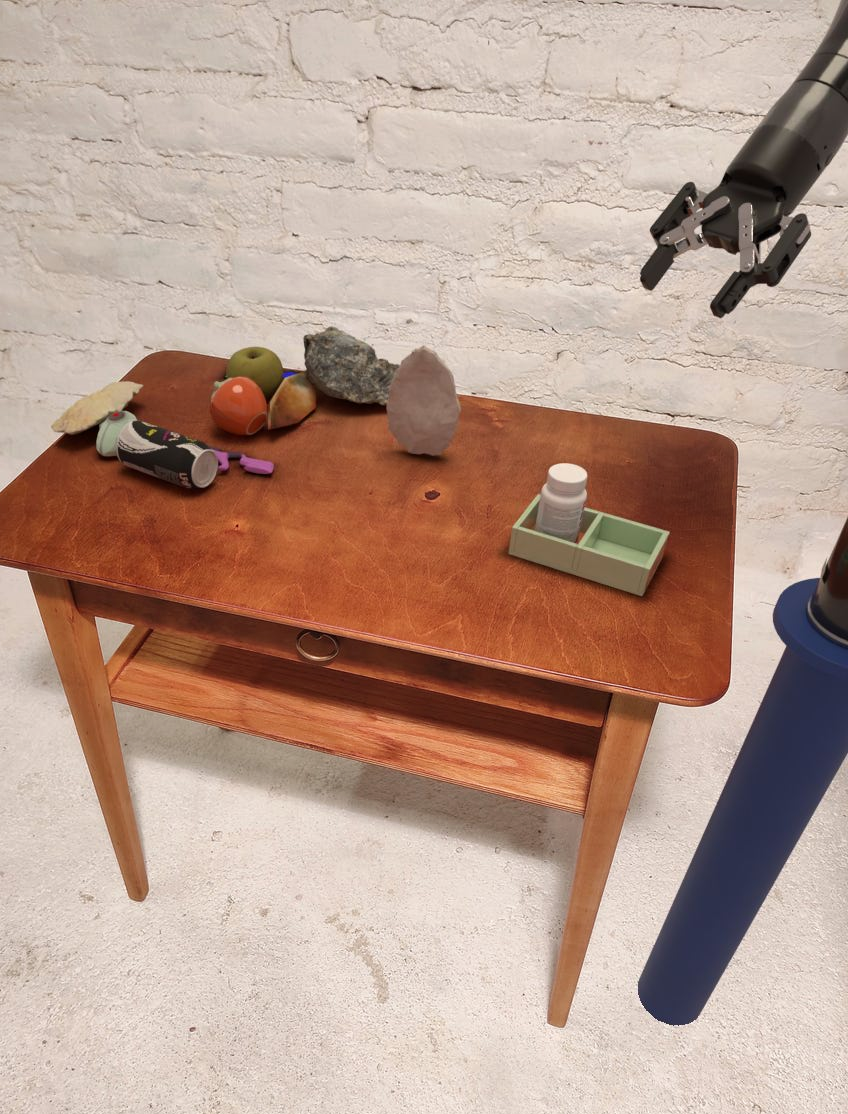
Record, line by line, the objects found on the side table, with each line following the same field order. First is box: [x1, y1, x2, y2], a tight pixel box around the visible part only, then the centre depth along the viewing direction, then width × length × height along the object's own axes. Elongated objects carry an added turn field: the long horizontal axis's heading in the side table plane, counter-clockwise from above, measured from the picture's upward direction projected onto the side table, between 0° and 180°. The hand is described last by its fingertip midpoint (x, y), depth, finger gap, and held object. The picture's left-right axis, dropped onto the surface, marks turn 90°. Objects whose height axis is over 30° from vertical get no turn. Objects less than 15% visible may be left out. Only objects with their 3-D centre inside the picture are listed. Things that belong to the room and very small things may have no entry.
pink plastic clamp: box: [208, 445, 275, 475], centre depth 109 cm, size 21×1×5 cm
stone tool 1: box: [50, 380, 144, 436], centre depth 114 cm, size 8×4×15 cm
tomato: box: [209, 376, 268, 436], centre depth 113 cm, size 7×7×8 cm
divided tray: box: [507, 493, 671, 597], centre depth 94 cm, size 15×8×4 cm, turn 61°
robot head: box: [95, 410, 138, 457], centre depth 109 cm, size 8×4×7 cm
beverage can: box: [116, 419, 219, 490], centre depth 104 cm, size 6×6×12 cm
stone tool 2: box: [386, 344, 462, 457], centre depth 105 cm, size 9×3×15 cm, turn 80°
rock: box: [302, 326, 400, 406], centre depth 119 cm, size 14×10×10 cm
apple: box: [225, 346, 284, 405], centre depth 118 cm, size 8×8×7 cm
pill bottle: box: [535, 462, 588, 544], centre depth 93 cm, size 5×5×8 cm
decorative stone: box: [267, 370, 317, 431], centre depth 116 cm, size 14×6×3 cm
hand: (678, 298), depth 85 cm, fingers open, 8 cm apart
